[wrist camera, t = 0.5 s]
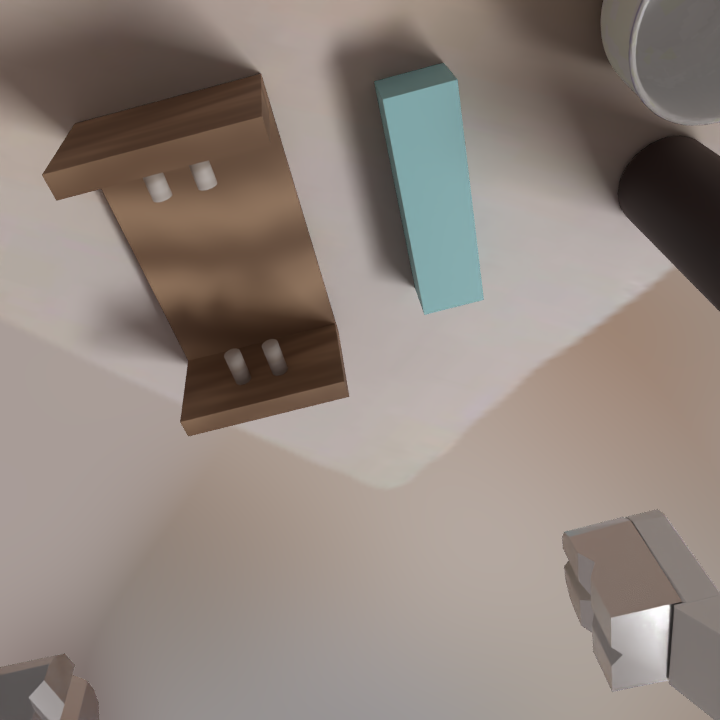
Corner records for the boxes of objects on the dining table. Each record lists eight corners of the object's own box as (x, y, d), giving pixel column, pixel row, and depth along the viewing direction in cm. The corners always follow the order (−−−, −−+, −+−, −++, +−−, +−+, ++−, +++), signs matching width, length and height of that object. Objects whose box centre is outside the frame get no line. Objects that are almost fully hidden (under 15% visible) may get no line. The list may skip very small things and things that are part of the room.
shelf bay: (74, 123, 41) (42, 174, 34) (261, 73, 40) (261, 116, 34) (196, 366, 53) (188, 436, 47) (338, 331, 53) (349, 396, 47)
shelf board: (373, 80, 42) (382, 99, 38) (442, 61, 41) (457, 79, 38) (414, 286, 52) (424, 314, 48) (470, 271, 51) (483, 299, 48)
